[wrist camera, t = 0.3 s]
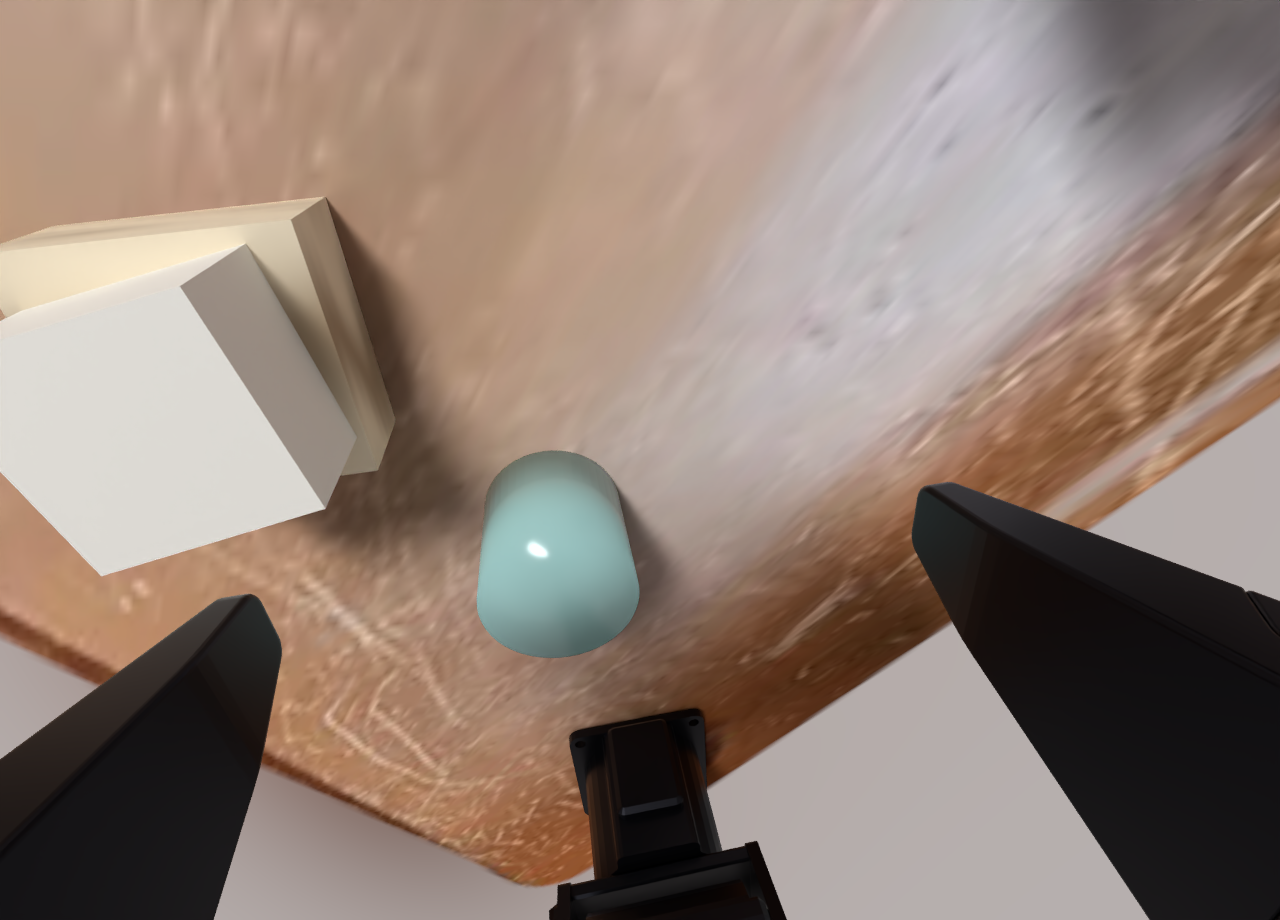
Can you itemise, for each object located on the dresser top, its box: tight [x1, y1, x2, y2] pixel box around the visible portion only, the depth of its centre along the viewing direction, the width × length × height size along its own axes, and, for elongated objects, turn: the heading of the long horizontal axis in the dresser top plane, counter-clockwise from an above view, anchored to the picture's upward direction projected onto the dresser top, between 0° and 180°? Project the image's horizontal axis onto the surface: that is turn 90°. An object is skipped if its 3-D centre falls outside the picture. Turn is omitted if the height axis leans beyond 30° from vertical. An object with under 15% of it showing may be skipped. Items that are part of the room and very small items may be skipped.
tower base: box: [0, 197, 396, 476], centre depth 18 cm, size 7×7×4 cm
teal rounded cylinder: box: [477, 451, 639, 658], centre depth 22 cm, size 5×5×5 cm
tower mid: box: [0, 244, 357, 576], centre depth 15 cm, size 6×6×4 cm
